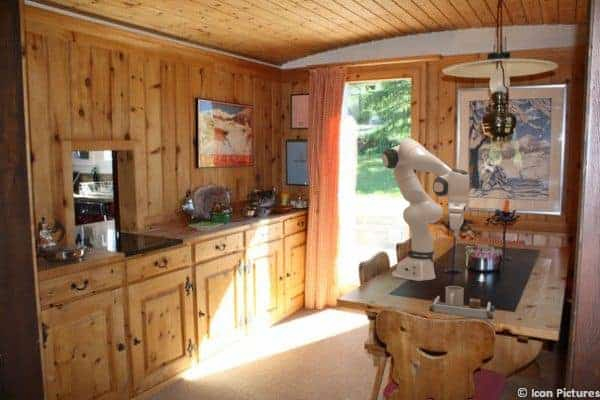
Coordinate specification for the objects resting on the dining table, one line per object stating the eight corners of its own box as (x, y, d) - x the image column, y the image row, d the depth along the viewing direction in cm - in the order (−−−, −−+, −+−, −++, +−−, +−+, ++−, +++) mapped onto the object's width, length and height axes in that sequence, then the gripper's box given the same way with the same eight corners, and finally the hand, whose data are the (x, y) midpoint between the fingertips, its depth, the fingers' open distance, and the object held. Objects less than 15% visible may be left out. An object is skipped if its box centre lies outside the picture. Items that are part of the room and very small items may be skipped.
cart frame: (429, 311, 209) (429, 304, 208) (433, 302, 221) (434, 295, 220) (492, 319, 199) (492, 312, 199) (493, 309, 211) (494, 302, 210)
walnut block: (468, 312, 207) (469, 300, 207) (469, 309, 211) (470, 298, 210) (479, 313, 206) (479, 302, 205) (479, 311, 209) (480, 299, 209)
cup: (464, 307, 213) (465, 287, 212) (459, 314, 204) (460, 293, 204) (447, 305, 217) (447, 285, 216) (442, 311, 208) (442, 291, 207)
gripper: (453, 203, 234) (451, 232, 235) (447, 208, 215) (446, 240, 217) (467, 204, 231) (465, 233, 233) (463, 209, 212) (461, 241, 214)
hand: (456, 236), depth 225 cm, fingers closed
